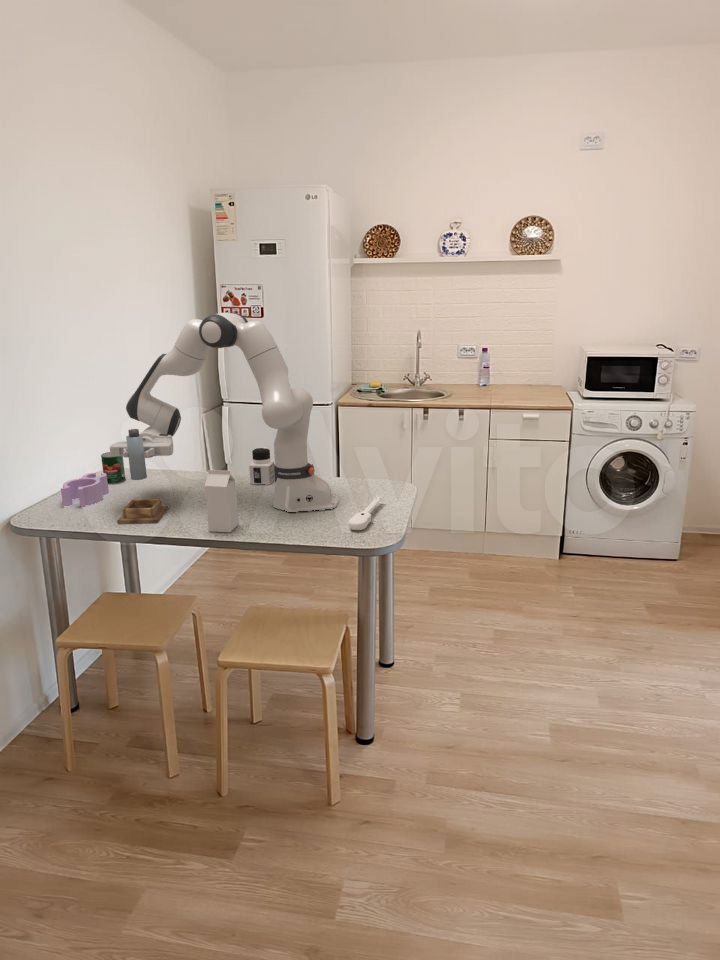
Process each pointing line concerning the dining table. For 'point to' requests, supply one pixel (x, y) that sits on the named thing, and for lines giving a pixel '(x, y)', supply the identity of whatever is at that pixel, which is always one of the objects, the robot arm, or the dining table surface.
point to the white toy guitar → (363, 516)
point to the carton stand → (143, 511)
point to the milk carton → (221, 501)
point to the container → (261, 467)
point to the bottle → (136, 455)
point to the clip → (85, 489)
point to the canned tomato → (113, 468)
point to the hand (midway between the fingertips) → (135, 454)
